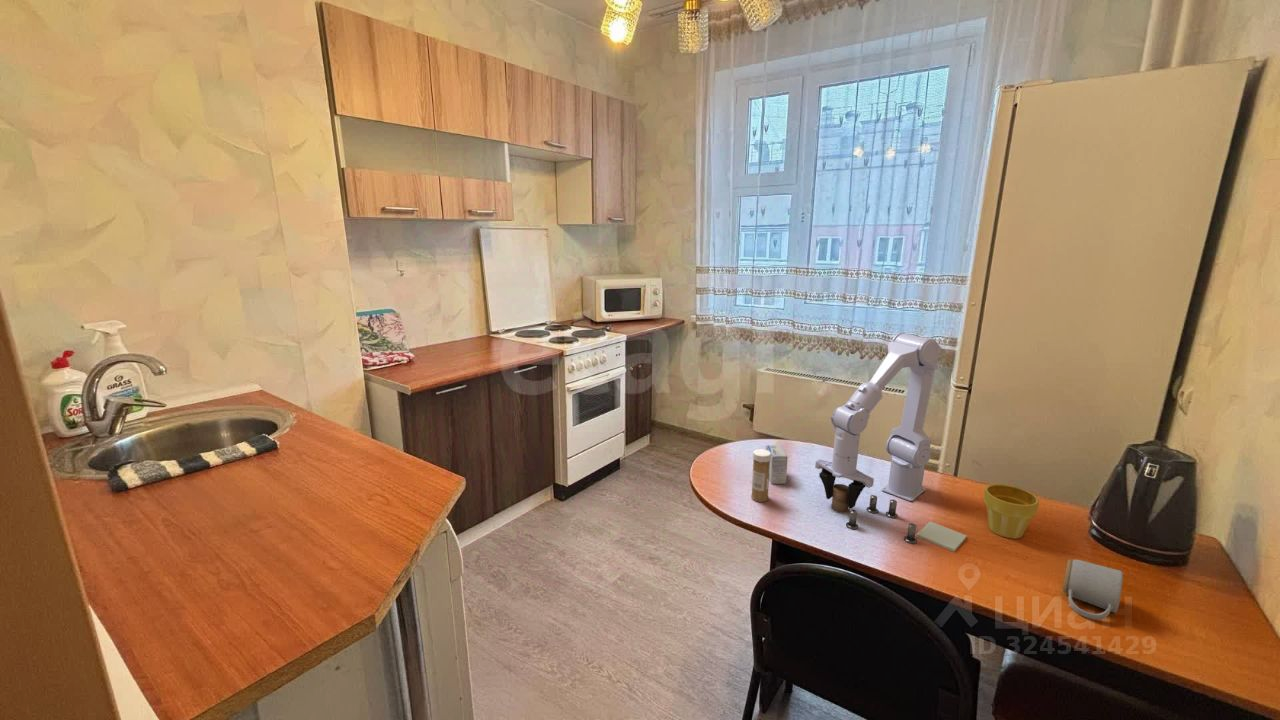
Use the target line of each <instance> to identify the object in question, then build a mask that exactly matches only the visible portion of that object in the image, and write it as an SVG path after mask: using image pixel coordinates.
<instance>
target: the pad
mask: <svg viewBox="0 0 1280 720" xmlns="http://www.w3.org/2000/svg"><path fill="white" fill-rule="evenodd" d="M967 536H968V535H966V534H963V533H962V532H958V531H957V530H954V529H951V528H948V527H946V526H943V525H940V524H938V523H935V522H932V521H929V522H928V523H926V525H924V526H923V527H922V528H921V529H920V530H919V531H918V532H917V533H916V537H917V538H920V539H922V540H924V541H927V542H929V543H932V544H934V545H936V546H939V547H941V548H944V549H946V550H948V551H951V552H954V553H955V551H957V550H958V549H959V547H961V545H962V544H963V543H964V541H965V540H966V539H967V538H968V537H967Z"/></svg>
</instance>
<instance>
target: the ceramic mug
mask: <svg viewBox="0 0 1280 720" xmlns="http://www.w3.org/2000/svg"><path fill="white" fill-rule="evenodd" d="M1066 564H1067V565H1066V568H1065V573H1064V574H1065V575H1064V580H1063V585H1062V591H1063V592H1064V593H1065V594H1066V595H1068V603H1069V605H1070V607H1071V609H1073V611H1074V612H1075V613H1077V614H1079V615H1080V616H1082V617H1084V618H1086V619H1089V620H1095V621H1101V620H1104V619H1105V618H1107V617H1108V616H1109V614H1110V613H1115V614H1117V613H1118V609H1119V605H1120V601H1121V596H1122V590H1123V581H1124V573H1123V571H1122V570H1119V569H1114V568H1111V567H1108V566H1104V565H1099V564H1095V563H1092V562H1088V561H1085V560H1080V559H1073V558H1072V559H1071V558H1070V559H1068V560H1067V563H1066ZM1073 598H1074V599H1077V600H1079V601H1083V602H1085V603H1088V604H1091V605H1092V606H1095V607H1099V608H1100V609H1103V610H1104V611H1102V612H1100V613H1099V612H1098V613H1091V612H1088V611H1085V610H1084V609H1081V608H1080V607H1079V606H1078V605H1077V604H1076V603H1075V602H1074V600H1073Z"/></svg>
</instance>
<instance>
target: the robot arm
mask: <svg viewBox="0 0 1280 720" xmlns="http://www.w3.org/2000/svg"><path fill="white" fill-rule="evenodd" d="M941 349H942V347H941V346H940V344H939V343H938V342H937V340H936V339H934V338H928V337H927V338H926V337H922V336H917V335H913V334H909V333H906V332H898V333H896V334H895V335H894V336H893V337H892V339H891V341H890V342H889V343H888V345H887V355H886V356H885V357H884V358H883V361H882V362H881V363H880V365H879V366H878V368H877V369H876V371H875V373H874V374H873V376H872V377H871V379H870V380H869V381H867V382H862V383H861V384H860V385H859V387H858V388H857V389H856V390H855V392H854V393H853V394H852V395H851V397H850V398H849V399H848V400H847V401H846V403H845V404H844V405H841V406H838V407H837V408H835V409H834V411H833V413H832V416H830V421H831V425H832V426H833V430H832V431H833V432H834V443H833V450H832V451H833V452H832V461H829V460H824V459H817V460H816V461H815V467H814V468H815V469H817V470H820V469H821V471H820V472H819V473H818V475H819V478H820V480H821V483H822V484H823V487H824V492H825V498H826V500H830V499H832V498H833V486H834V485H835V482H836V478H838V479H840V478H841V479H842V478H843V479H847V480H850V481H852V482H850V483H849V484H848V485H847V486H848V487H849V504H848V509H851V510H853V508H855V506H856V504H857V501H858V499H859V496H860V495H861V493H862V492H863V490H864V489H865V488H868V489H870V488H873V486H874V483H875V482H874V481H875V479H874V478H873V477H871V476H869V475H867V474H865V473H864V472H862V471H860V470H859V469H857V464H858V456H859V447H860V439H861V438H860V437H861V433H862V432H864V430H866V429H867V426H868V420H869V419H870V417H871V415H870V414H871V413H872V411H873V410H874V408H875V407H877V405H878V403H879V402H880V401H881V400H882V398H883V389H885V387H886V386H887V385H888V384H889V383H890V382H891V381H892V380H893V378H894V377H895V376H896V375H898V374H899V372H900V371H901V370H902V369H904V368H910V375H909V380H908V383H907V384H908V385H907V390H906V395H905V400H904V406H903V411H902V415H901V422H900V425H899V426H897V427H894V428H892V429H891V431H890V435H889V437H888V439H887V440H886V443H885V450H886V453H888V454H889V459H891V461H890V462H891V463H890V468H889V469H890V470H889V477H888V484H886V485H885V486H883V488H882V489H881V491H883V492H885V493H887V494H890V495H893V496H895V497H898V498H900V499H904V500H906V501H909V502H913V501H914V500H915V499H917V497H919V496H920V495H921V494H922V493H924V492H925V491H926V488H925V487H923V483H924V482H923V481H924V475H925V466H926V465H927V464H928V463H929V461H930V459H931V456H932V450H931V443H932V439H931V438H930V437H929V435H928V434H927V433H926V432H925V431H924V427H925V426H924V425H925V421H926V418H927V417H926V416H927V411H928V405H929V401H930V396H931V391H932V388H933V381H934V376H935V371H936V370H937V369H938V368H937V367H938V363H939V359H940V358H939V357H940V354H941Z"/></svg>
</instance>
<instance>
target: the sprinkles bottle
mask: <svg viewBox="0 0 1280 720" xmlns="http://www.w3.org/2000/svg"><path fill="white" fill-rule="evenodd" d="M752 454H753V455H752V460H753V464H752V465H753V466H752V478H751V479H752V480H751V499H752V500H753V501H755V502H759V503H764V502H767V501H768V500H769V487H770V480H769V468H770V460H771V453H770V452H769V451H767V450H766V449H761V448H760V449H759V448H757V449H756V450H753V452H752Z"/></svg>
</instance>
